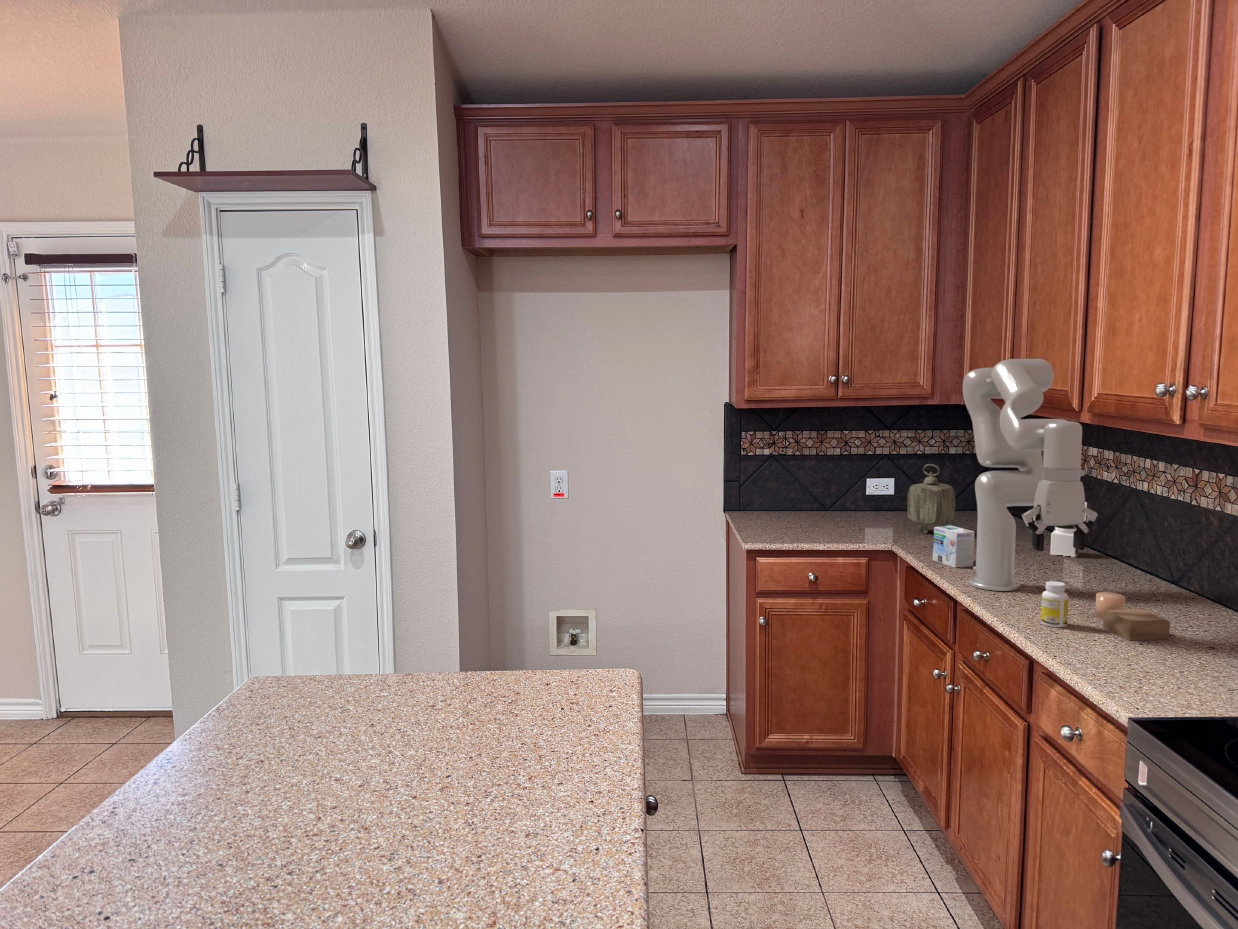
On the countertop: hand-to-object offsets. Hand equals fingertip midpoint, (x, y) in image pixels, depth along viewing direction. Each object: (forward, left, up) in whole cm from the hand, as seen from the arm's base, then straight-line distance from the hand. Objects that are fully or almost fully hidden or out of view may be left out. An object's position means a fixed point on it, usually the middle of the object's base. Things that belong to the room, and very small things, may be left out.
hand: (1058, 549), depth 189 cm
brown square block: (+8, +14, -18) cm, 24 cm away
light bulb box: (-60, +5, -18) cm, 63 cm away
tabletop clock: (-105, +18, -18) cm, 108 cm away
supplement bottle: (0, 0, -18) cm, 18 cm away
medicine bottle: (-67, +45, -18) cm, 83 cm away
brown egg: (-5, +17, -18) cm, 25 cm away
